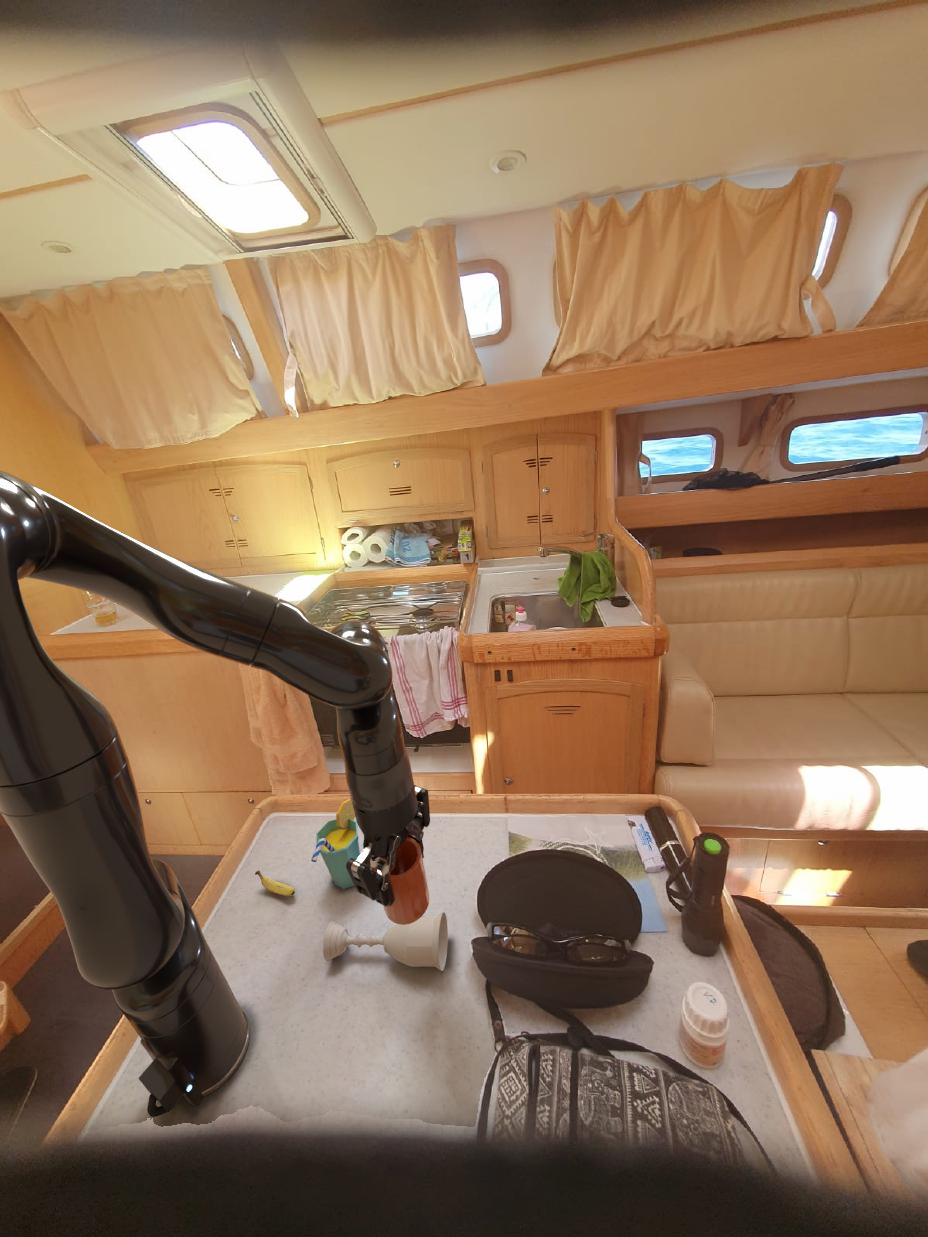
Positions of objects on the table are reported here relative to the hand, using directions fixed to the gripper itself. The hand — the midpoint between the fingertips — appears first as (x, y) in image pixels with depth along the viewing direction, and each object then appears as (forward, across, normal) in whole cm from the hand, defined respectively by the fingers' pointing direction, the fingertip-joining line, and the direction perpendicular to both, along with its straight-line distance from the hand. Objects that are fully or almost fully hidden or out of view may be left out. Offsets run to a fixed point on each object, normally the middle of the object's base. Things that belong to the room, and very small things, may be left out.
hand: (401, 878), depth 60 cm
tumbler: (+5, 0, 0) cm, 5 cm away
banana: (+20, +1, -30) cm, 36 cm away
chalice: (+17, +4, -14) cm, 23 cm away
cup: (+20, -6, -20) cm, 29 cm away
